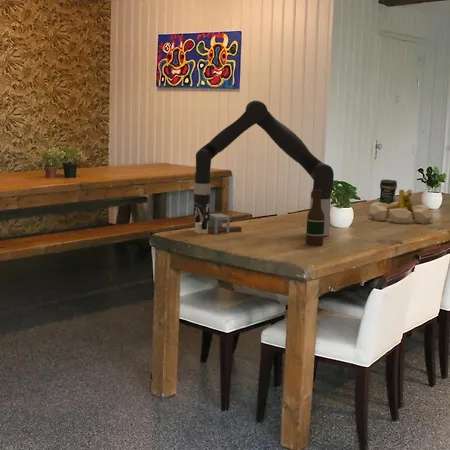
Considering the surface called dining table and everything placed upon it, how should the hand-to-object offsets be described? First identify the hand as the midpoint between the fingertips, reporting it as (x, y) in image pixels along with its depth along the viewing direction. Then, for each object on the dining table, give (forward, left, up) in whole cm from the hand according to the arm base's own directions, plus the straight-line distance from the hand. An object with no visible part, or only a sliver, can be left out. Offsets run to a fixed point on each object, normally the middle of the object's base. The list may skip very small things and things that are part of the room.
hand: (200, 227), depth 314 cm
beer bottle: (-37, -39, -2) cm, 54 cm away
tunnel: (0, -9, -2) cm, 9 cm away
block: (-1, 0, -2) cm, 2 cm away
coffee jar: (+41, -134, -2) cm, 140 cm away
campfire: (+14, -123, -3) cm, 123 cm away
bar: (-1, -11, -3) cm, 11 cm away
